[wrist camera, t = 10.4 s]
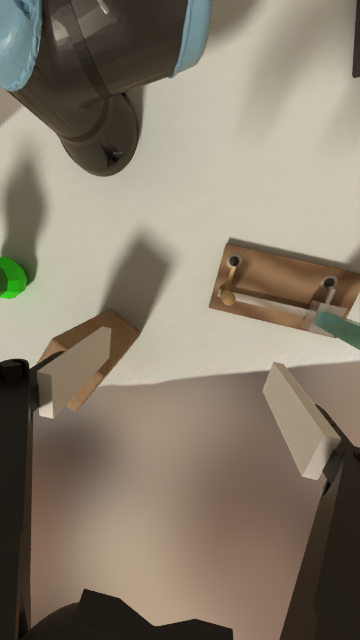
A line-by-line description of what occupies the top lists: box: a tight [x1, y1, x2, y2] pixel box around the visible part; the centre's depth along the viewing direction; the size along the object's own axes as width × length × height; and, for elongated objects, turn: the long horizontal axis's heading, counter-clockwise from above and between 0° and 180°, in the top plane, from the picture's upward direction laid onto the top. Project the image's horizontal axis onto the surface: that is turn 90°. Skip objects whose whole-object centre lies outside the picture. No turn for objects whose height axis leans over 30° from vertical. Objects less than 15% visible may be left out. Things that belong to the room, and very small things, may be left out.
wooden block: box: [36, 309, 140, 411], centre depth 41 cm, size 10×10×20 cm
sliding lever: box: [301, 286, 360, 350], centre depth 34 cm, size 9×5×16 cm, turn 168°
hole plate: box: [209, 244, 360, 338], centre depth 39 cm, size 14×29×9 cm, turn 78°
